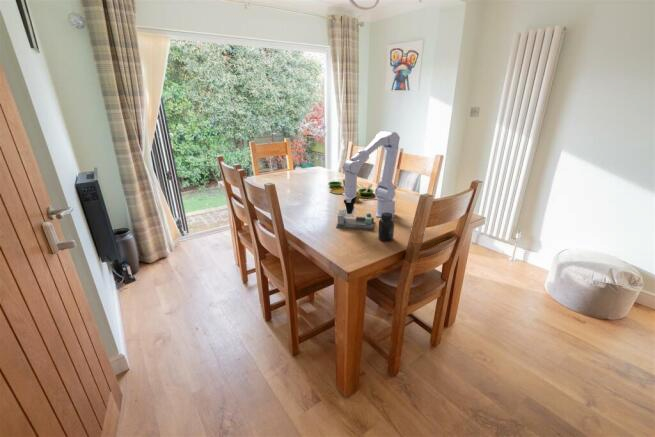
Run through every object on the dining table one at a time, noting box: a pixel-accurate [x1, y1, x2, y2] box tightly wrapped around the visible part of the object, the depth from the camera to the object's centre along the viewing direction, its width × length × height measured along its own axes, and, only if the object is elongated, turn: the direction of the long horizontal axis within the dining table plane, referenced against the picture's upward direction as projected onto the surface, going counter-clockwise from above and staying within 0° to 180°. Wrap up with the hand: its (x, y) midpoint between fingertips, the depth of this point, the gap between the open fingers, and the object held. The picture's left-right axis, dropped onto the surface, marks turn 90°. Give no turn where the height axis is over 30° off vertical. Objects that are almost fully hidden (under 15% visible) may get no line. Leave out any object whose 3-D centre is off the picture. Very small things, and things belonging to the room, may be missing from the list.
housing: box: [344, 205, 356, 218], centre depth 147 cm, size 4×4×5 cm
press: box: [335, 209, 375, 231], centre depth 148 cm, size 18×11×6 cm, turn 80°
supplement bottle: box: [377, 212, 395, 243], centre depth 132 cm, size 7×7×12 cm
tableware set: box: [328, 178, 378, 203], centre depth 200 cm, size 41×28×6 cm
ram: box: [364, 212, 373, 224], centre depth 147 cm, size 3×7×5 cm, turn 170°
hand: (350, 211), depth 147 cm, fingers closed on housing, 4 cm apart
